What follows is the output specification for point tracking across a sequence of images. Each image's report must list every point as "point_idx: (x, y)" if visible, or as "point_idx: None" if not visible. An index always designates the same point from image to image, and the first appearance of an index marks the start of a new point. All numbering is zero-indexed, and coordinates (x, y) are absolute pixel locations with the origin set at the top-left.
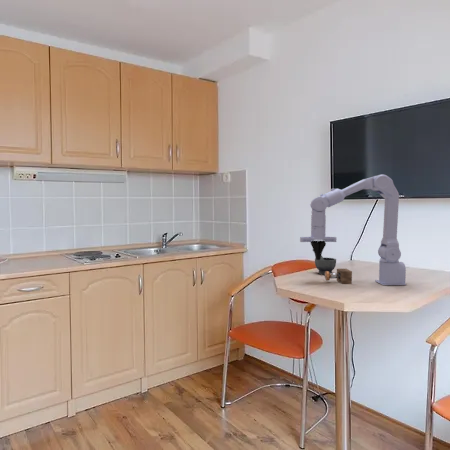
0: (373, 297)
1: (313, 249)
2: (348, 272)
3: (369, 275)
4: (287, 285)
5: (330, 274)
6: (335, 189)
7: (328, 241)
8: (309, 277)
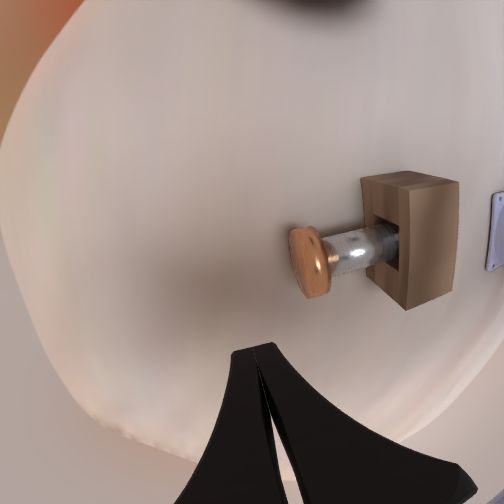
0: (380, 428)
1: (204, 461)
2: (432, 295)
3: (489, 53)
4: (84, 367)
5: (332, 276)
6: None
7: (495, 501)
8: (177, 93)
